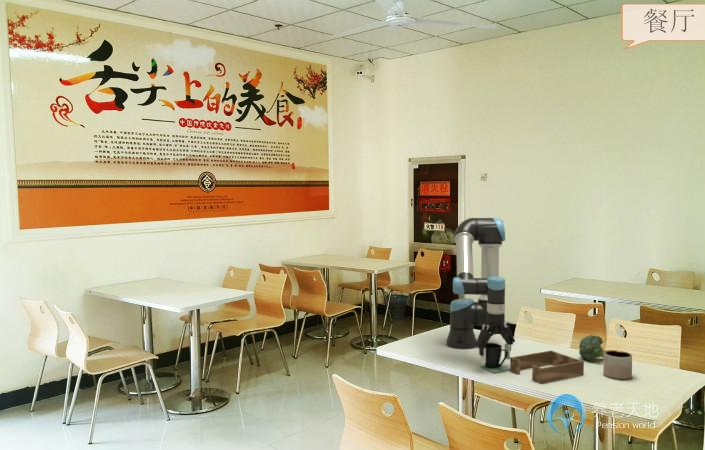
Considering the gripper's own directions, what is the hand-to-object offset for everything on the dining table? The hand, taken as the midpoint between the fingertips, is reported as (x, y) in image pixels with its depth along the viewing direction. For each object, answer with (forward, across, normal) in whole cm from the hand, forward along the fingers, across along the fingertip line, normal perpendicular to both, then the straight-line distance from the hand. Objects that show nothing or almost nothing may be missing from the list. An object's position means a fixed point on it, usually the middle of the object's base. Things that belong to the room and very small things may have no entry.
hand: (495, 360), depth 240 cm
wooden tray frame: (+4, +16, -14) cm, 22 cm away
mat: (+4, 0, 0) cm, 4 cm away
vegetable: (+4, +51, -10) cm, 52 cm away
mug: (+3, 0, 0) cm, 3 cm away
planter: (+4, +40, -30) cm, 50 cm away
